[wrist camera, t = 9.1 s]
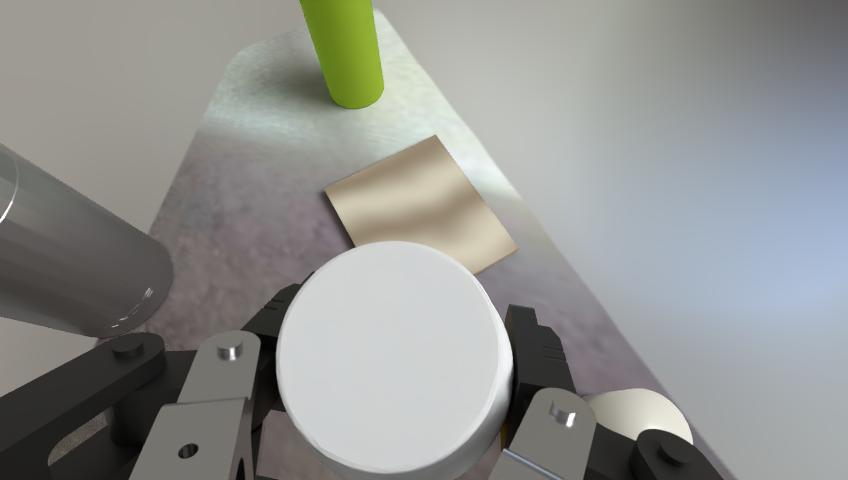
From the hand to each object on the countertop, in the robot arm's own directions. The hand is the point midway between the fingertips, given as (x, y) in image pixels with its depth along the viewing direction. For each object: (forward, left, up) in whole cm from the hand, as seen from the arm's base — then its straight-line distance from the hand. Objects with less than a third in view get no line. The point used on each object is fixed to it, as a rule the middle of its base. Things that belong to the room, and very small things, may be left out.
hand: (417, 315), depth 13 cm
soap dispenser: (-25, +18, -20) cm, 37 cm away
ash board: (-9, +10, -20) cm, 24 cm away
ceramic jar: (+12, +5, -20) cm, 24 cm away
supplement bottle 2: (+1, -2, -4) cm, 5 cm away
